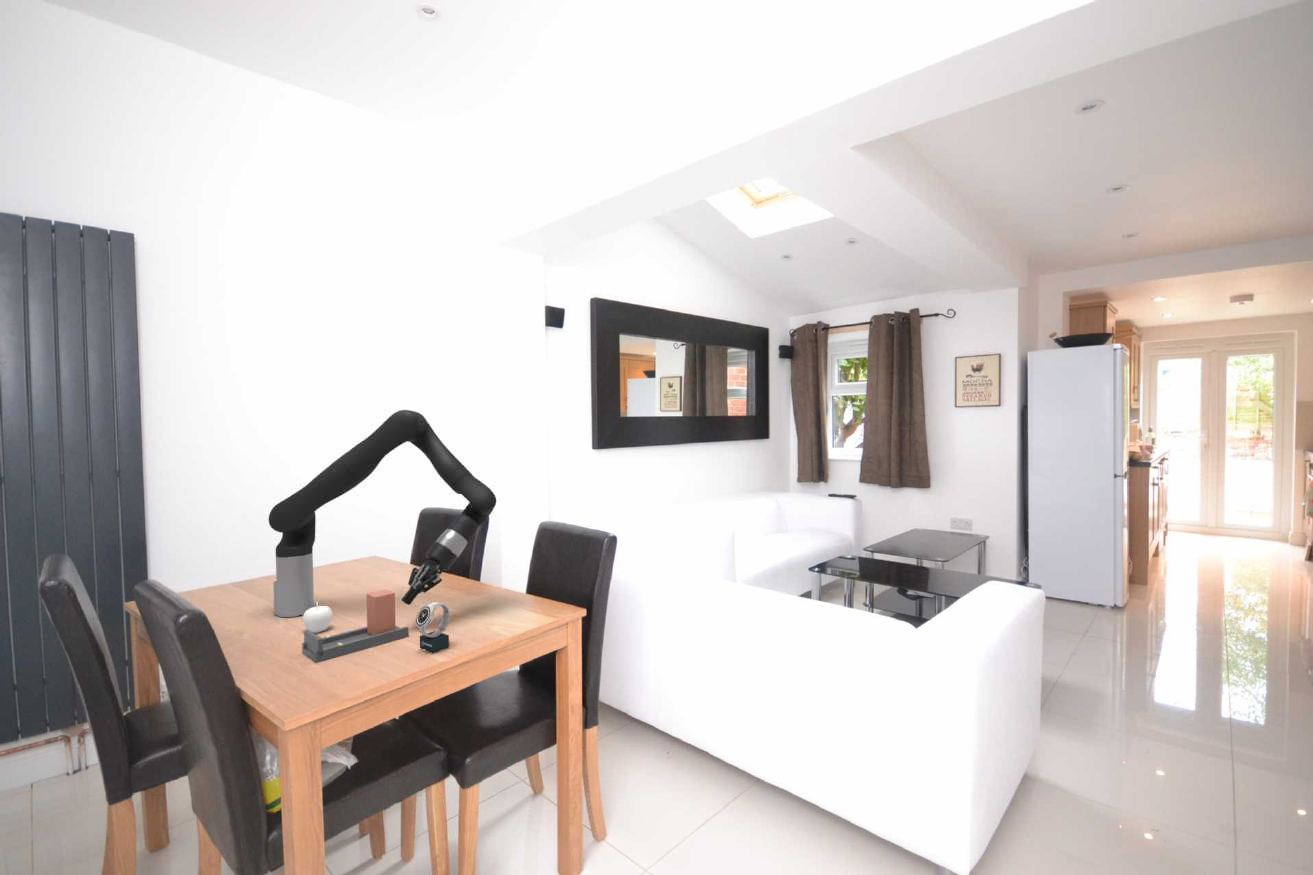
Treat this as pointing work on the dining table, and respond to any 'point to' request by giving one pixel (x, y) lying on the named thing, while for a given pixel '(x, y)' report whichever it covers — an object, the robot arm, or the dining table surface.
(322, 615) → the plain white apple
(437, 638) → the watch
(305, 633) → the rail
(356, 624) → the dining table surface
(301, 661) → the dining table surface
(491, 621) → the dining table surface
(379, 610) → the block
